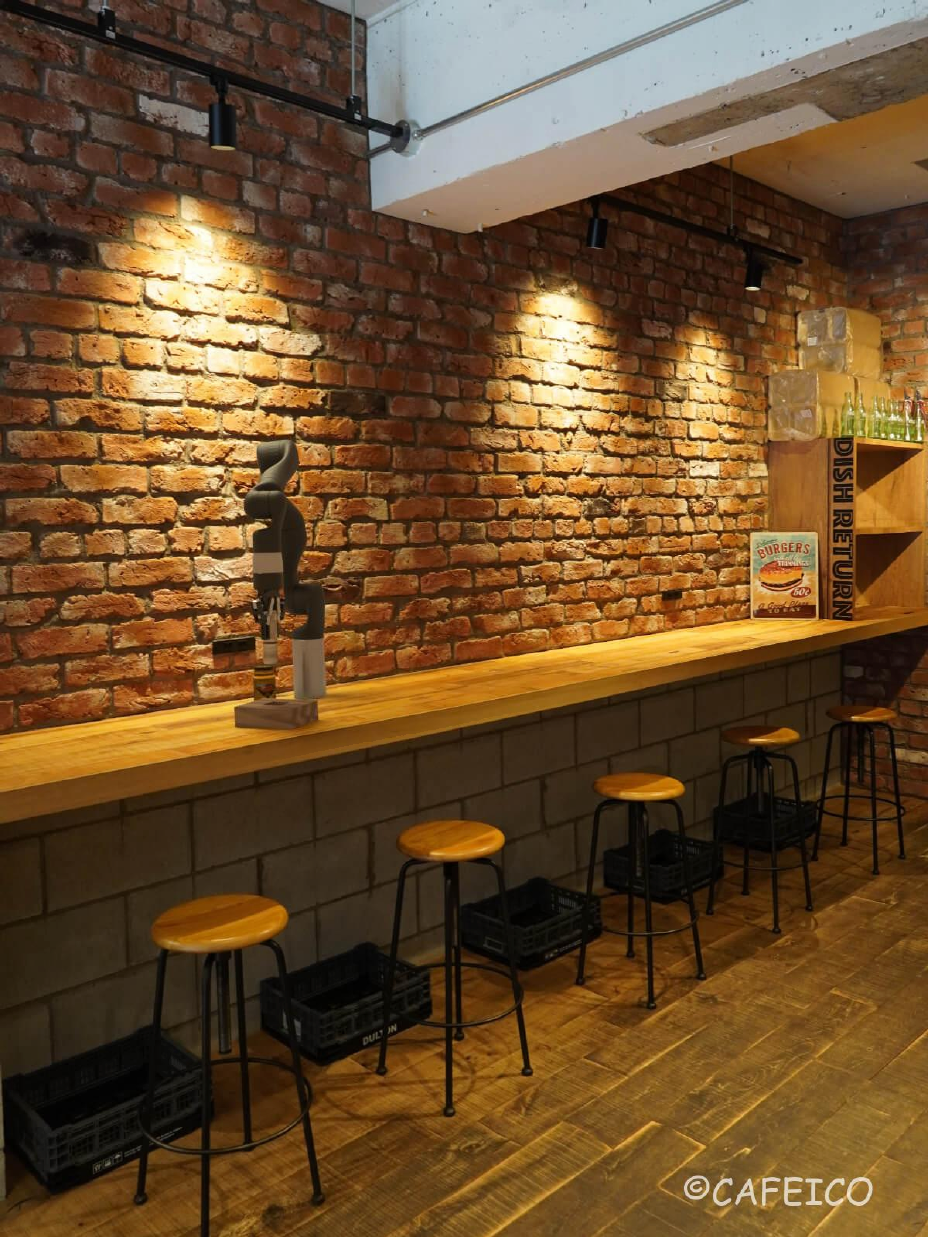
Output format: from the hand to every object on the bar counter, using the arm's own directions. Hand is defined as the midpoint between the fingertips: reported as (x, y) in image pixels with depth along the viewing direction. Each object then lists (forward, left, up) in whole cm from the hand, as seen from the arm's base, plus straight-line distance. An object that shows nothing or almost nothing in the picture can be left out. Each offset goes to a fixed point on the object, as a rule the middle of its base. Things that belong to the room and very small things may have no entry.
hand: (270, 638), depth 264 cm
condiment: (-18, -14, -22) cm, 32 cm away
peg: (0, 0, -6) cm, 6 cm away
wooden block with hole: (0, +1, -22) cm, 22 cm away
